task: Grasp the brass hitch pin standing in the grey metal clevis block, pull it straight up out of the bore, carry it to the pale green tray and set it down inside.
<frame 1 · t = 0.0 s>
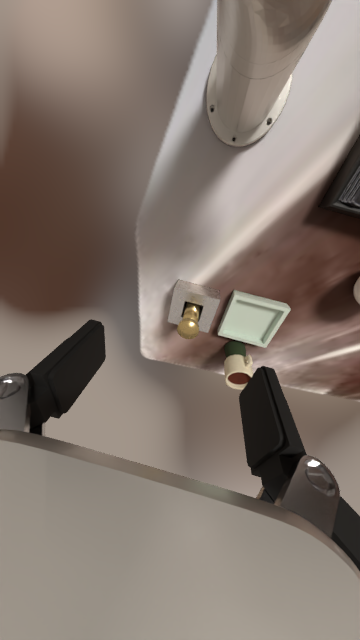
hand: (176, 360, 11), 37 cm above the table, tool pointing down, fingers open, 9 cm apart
clevis block: (194, 301, 49), on the table
character mug: (234, 346, 55), on the table
tray: (249, 317, 49), on the table
pin: (191, 313, 43), in the clevis block
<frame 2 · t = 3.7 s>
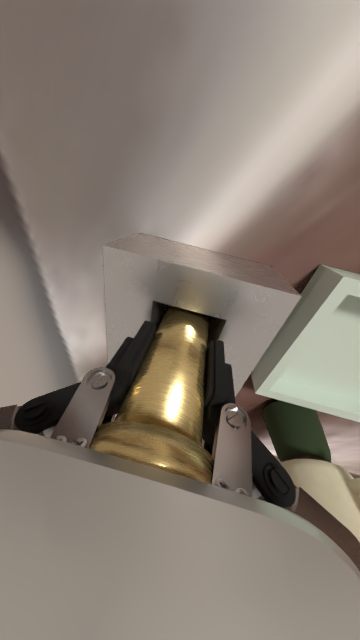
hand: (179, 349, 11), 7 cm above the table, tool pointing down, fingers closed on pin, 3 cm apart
clevis block: (191, 301, 17), on the table
character mug: (286, 408, 24), on the table
tray: (348, 347, 17), on the table
pin: (178, 349, 11), in the clevis block, touching gripper
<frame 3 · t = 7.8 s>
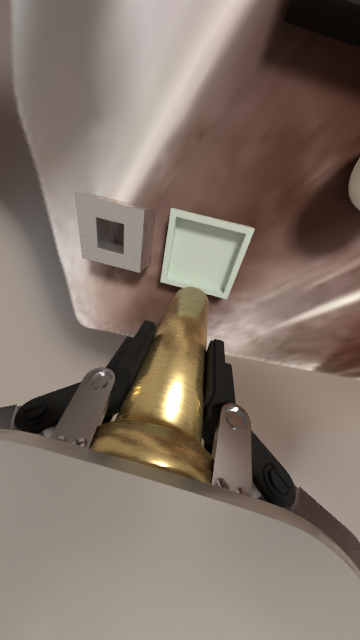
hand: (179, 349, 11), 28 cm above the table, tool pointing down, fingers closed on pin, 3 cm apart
clevis block: (125, 232, 35), on the table
tray: (202, 254, 34), on the table
pin: (178, 350, 11), point 28 cm above the table, touching gripper
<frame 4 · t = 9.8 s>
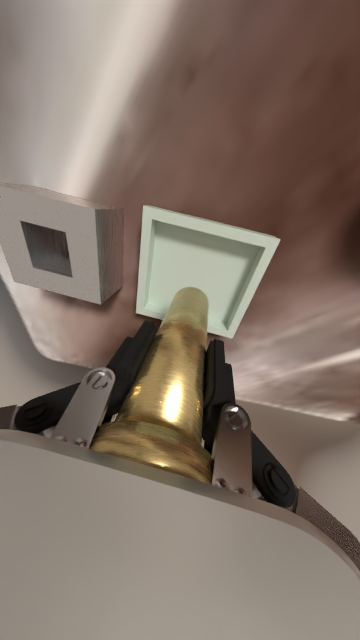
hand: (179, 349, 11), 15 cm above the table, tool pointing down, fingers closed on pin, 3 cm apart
clevis block: (83, 241, 24), on the table
tray: (197, 274, 23), on the table
pin: (178, 351, 11), point 15 cm above the table, touching gripper
when the fingers open (9 cm above the table, at t = 11.8 s): pin stays where it is, resting on tray.
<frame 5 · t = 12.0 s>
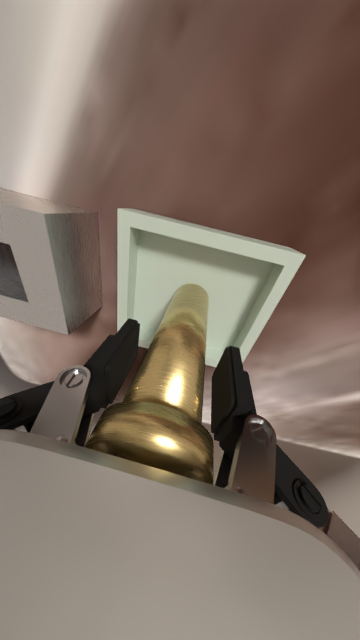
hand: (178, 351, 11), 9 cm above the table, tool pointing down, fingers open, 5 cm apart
clevis block: (50, 253, 19), on the table
tray: (192, 294, 19), on the table
pin: (179, 344, 12), in the tray, point 8 cm above the table
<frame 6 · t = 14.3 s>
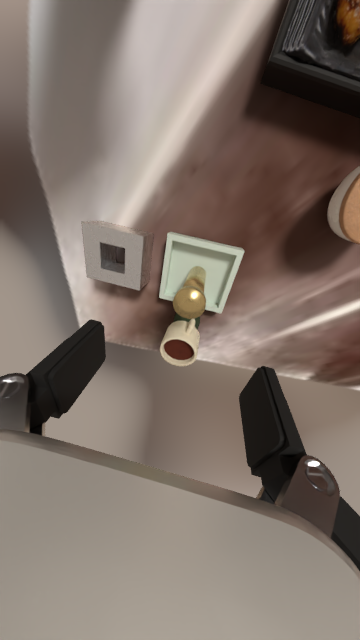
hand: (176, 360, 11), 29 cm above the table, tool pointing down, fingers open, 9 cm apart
clevis block: (126, 252, 38), on the table
character mug: (187, 317, 43), on the table
tray: (198, 272, 37), on the table
pin: (194, 286, 30), in the tray, point 8 cm above the table
lidded jar: (353, 202, 27), on the table
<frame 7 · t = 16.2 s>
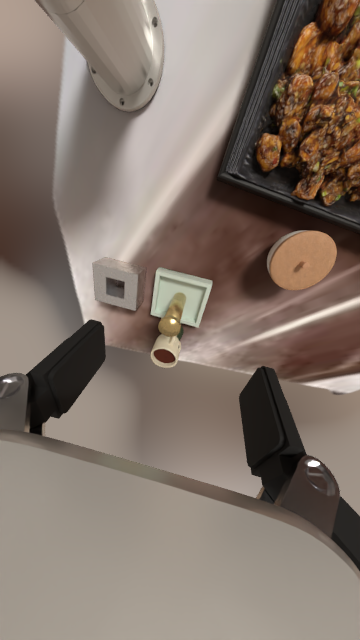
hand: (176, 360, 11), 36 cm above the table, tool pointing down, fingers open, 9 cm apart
clevis block: (125, 280, 49), on the table
character mug: (173, 328, 55), on the table
tray: (180, 296, 48), on the table
pin: (175, 311, 42), in the tray, point 8 cm above the table
lidded jar: (287, 254, 39), on the table
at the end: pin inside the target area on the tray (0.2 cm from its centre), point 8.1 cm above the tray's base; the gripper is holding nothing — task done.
